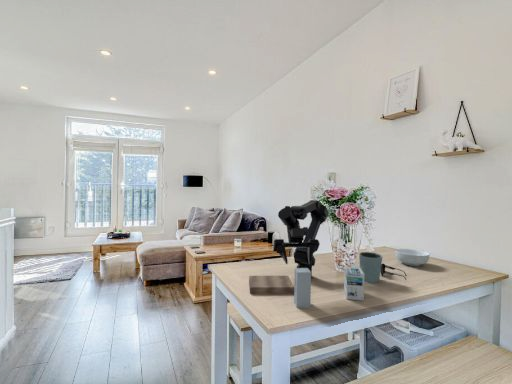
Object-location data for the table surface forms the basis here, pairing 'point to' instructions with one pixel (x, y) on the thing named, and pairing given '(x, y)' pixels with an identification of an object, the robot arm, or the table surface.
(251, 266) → the table surface
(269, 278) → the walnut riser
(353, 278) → the light bulb box
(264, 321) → the table surface
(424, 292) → the table surface
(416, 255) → the cereal bowl
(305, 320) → the table surface
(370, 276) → the grey green cup
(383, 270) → the sunglasses
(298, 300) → the slate block
